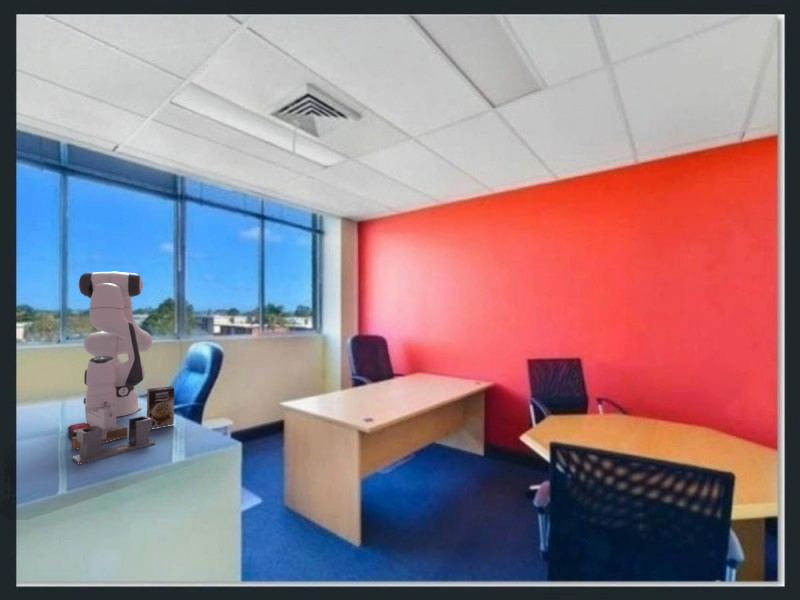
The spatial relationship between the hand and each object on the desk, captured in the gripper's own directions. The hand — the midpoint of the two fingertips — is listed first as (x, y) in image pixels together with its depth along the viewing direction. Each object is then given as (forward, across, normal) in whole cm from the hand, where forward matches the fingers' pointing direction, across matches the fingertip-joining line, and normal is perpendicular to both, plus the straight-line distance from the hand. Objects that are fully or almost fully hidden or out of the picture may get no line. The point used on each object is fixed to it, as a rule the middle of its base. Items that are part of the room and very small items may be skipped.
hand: (100, 437), depth 140 cm
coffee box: (+2, +2, -21) cm, 21 cm away
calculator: (+2, +15, 0) cm, 15 cm away
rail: (+2, 0, 0) cm, 2 cm away
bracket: (+2, -15, 0) cm, 15 cm away
